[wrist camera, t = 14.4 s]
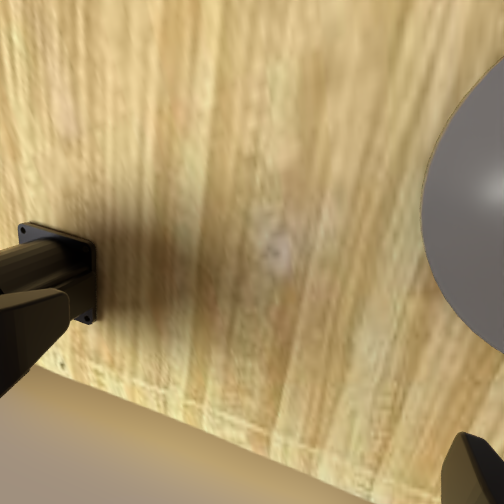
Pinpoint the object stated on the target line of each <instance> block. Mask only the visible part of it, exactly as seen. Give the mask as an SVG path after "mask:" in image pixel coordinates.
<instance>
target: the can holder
mask: <svg viewBox="0 0 504 504" xmlns="http://www.w3.org/2000/svg"><path fill="white" fill-rule="evenodd" d="M420 222H421V233H422V238H423V243H424V248H425V252H426V255H427V259H428V262H429V264H430V267H431V270H432V273H433V276H434V278H435V281H436V282H437V284H438V286H439V288H440V290H441V292H442V294H443V295H444V297H445V299H446V300H447V302H448V303H449V304H450V306H451V307H452V308H453V310H454V311H455V312H456V314H457V315H458V316H459V317H460V318H461V319H462V321H463V322H464V323H465V324H466V325H467V326H468V327H469V328H470V329H471V330H472V331H473V332H474V333H476V334H477V335H478V336H479V337H481V338H482V339H483V340H484V341H486V342H487V343H488V344H489V345H491V346H492V347H494V348H495V349H497V350H499V351H500V352H502V353H503V354H504V56H503V57H502V58H501V59H500V60H499V61H498V62H497V63H496V64H495V65H493V66H492V67H491V68H490V69H489V70H488V71H487V72H486V73H485V74H484V75H483V76H482V77H481V78H480V79H479V81H478V82H477V83H476V84H475V85H474V86H473V87H472V88H471V90H470V91H469V92H468V93H467V94H466V95H465V97H464V98H463V99H462V101H461V102H460V104H459V105H458V107H457V108H456V109H455V111H454V112H453V114H452V115H451V116H450V118H449V119H448V121H447V123H446V125H445V127H444V129H443V131H442V132H441V134H440V136H439V138H438V140H437V142H436V144H435V147H434V149H433V152H432V154H431V157H430V160H429V162H428V165H427V169H426V173H425V177H424V181H423V185H422V193H421V203H420Z"/></svg>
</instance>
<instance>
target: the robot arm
mask: <svg viewBox="0 0 504 504" xmlns="http://www.w3.org/2000/svg"><path fill="white" fill-rule="evenodd" d="M18 237H19V245H16V246H13V247H10V248H6V249H3V250H0V398H1V397H2V396H3V395H4V394H5V393H6V392H7V391H9V390H10V389H11V388H12V387H13V386H14V385H15V384H16V383H17V382H18V381H19V380H20V379H21V378H22V377H23V376H25V374H27V373H28V372H29V370H30V368H31V367H32V366H33V365H34V364H35V363H36V362H37V361H38V360H39V359H40V357H41V356H42V355H43V354H44V353H45V352H46V351H47V350H48V349H49V348H50V347H51V346H52V345H53V344H54V343H55V342H56V341H57V340H58V339H59V338H60V337H61V336H62V335H63V334H64V333H65V331H66V330H67V329H68V327H69V324H70V321H71V320H73V319H74V320H76V321H79V322H82V323H85V324H87V325H90V324H92V323H94V322H95V321H96V248H95V245H94V244H93V243H92V242H91V241H88V240H85V239H81V238H78V237H75V236H71V235H68V234H64V233H61V232H58V231H54V230H51V229H47V228H44V227H41V226H37V225H34V224H31V223H26V222H25V223H22V224H19V225H18ZM87 248H88V249H87ZM441 504H504V461H503V460H502V459H501V458H500V456H499V455H498V454H497V453H496V452H495V451H494V449H493V448H492V447H491V446H490V445H489V444H488V443H487V442H486V441H485V440H484V439H482V438H480V437H477V436H474V435H471V434H468V433H466V432H459V433H458V434H457V435H456V437H455V438H454V441H453V443H452V445H451V447H450V449H449V451H448V453H447V456H446V458H445V460H444V462H443V465H442V471H441Z"/></svg>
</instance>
